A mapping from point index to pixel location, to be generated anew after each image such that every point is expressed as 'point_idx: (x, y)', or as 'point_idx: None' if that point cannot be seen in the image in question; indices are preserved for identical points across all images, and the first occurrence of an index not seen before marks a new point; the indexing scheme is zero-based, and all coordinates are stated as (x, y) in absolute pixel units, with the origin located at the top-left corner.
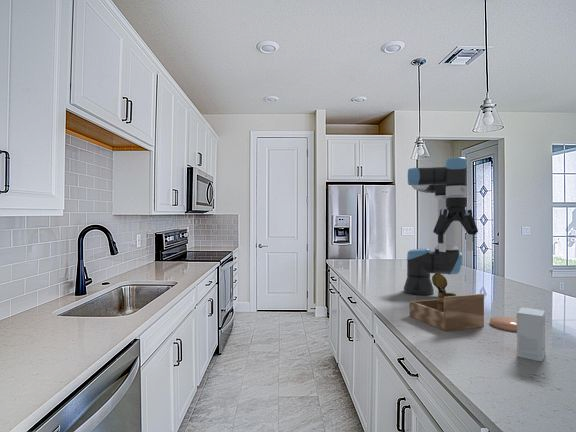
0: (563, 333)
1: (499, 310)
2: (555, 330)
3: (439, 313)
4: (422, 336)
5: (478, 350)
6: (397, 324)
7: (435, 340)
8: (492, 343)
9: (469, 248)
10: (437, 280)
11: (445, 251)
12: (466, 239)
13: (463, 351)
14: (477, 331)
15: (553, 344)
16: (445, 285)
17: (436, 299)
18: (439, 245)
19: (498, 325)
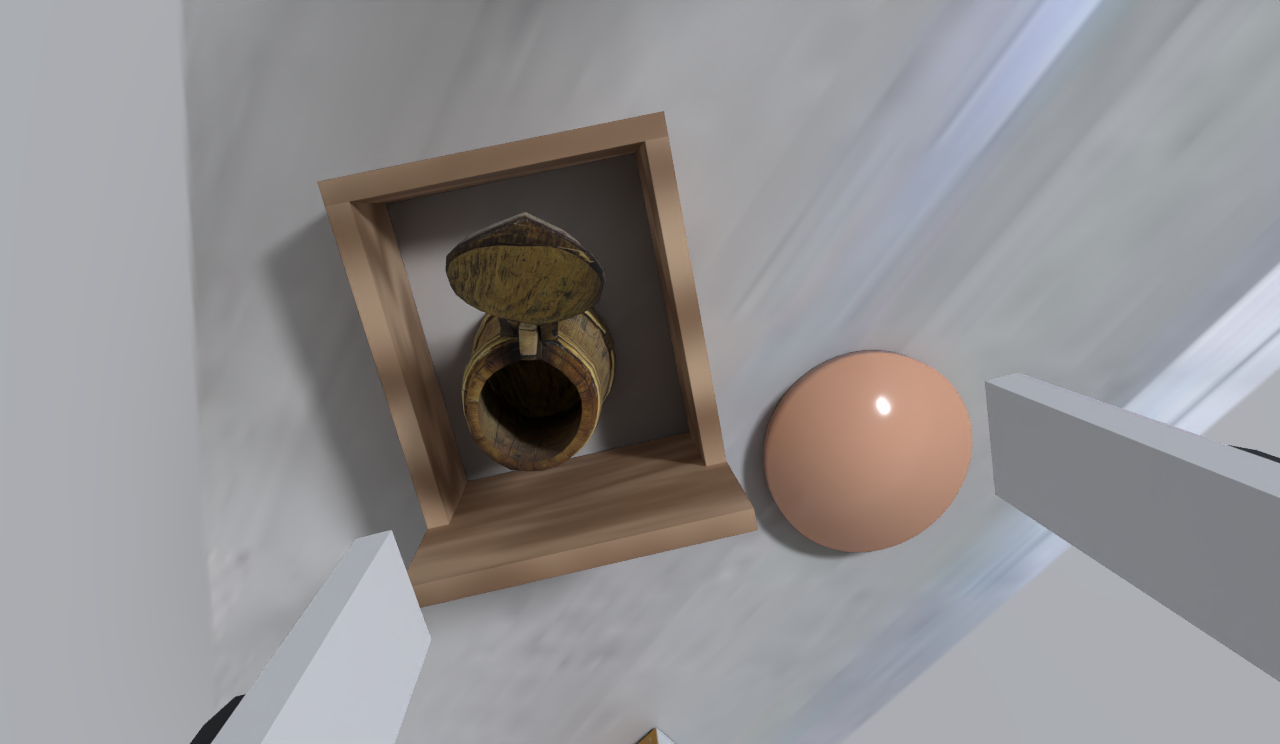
0: (1005, 570)
1: (1063, 127)
2: (1012, 529)
3: (419, 491)
4: (288, 565)
5: (467, 732)
6: (211, 360)
7: None
8: (581, 666)
9: (1019, 475)
10: (502, 281)
11: (424, 646)
12: (1172, 477)
13: (396, 739)
14: None
15: (830, 687)
16: (571, 313)
17: (579, 143)
18: (314, 617)
19: (769, 484)
